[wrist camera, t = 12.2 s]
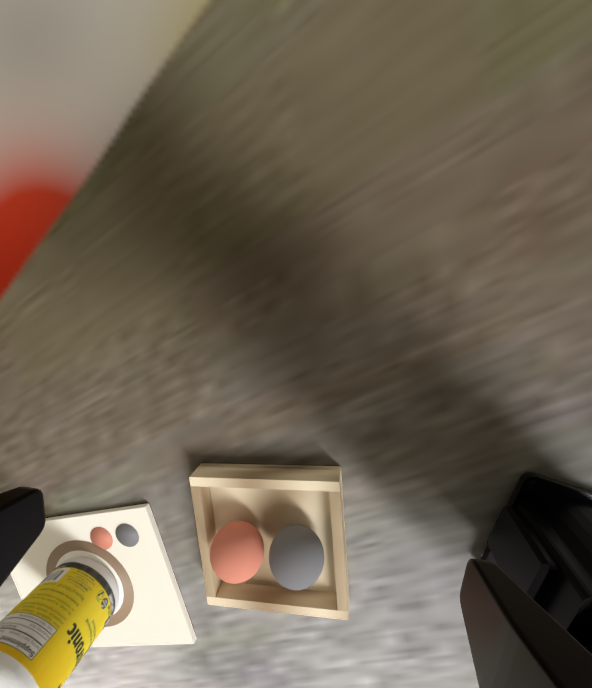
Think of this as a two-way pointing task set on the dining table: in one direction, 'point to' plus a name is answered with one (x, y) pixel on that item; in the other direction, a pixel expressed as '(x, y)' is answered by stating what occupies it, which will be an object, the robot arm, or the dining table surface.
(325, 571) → the masu tray
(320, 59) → the dining table surface
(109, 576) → the supplement bottle
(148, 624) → the card
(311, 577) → the grey ball
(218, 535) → the red ball
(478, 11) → the dining table surface
